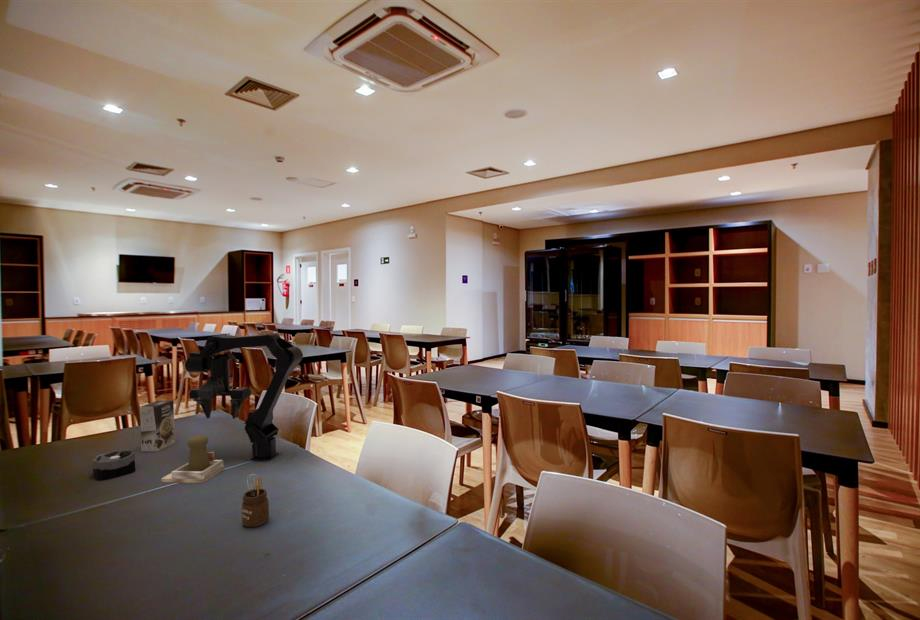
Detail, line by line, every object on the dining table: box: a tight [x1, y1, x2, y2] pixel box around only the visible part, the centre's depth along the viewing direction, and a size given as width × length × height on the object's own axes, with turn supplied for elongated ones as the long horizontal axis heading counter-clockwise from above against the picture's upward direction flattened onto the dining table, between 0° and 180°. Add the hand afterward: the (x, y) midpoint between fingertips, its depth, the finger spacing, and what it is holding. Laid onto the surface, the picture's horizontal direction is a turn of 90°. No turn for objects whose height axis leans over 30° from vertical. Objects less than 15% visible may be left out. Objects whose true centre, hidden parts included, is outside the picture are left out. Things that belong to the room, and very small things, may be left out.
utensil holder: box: [241, 473, 270, 528], centre depth 105 cm, size 6×6×12 cm
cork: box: [187, 434, 210, 472], centre depth 133 cm, size 6×6×11 cm
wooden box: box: [160, 451, 225, 484], centre depth 133 cm, size 13×10×6 cm
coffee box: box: [139, 399, 176, 452], centre depth 158 cm, size 9×6×16 cm
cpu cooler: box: [92, 449, 136, 482], centre depth 135 cm, size 10×6×10 cm
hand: (221, 418), depth 148 cm, fingers open, 9 cm apart
